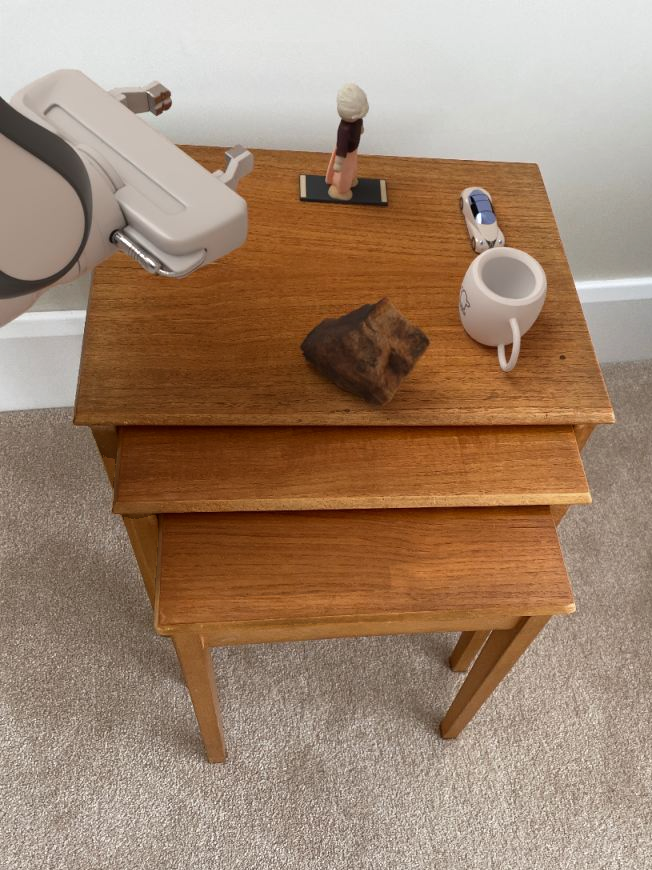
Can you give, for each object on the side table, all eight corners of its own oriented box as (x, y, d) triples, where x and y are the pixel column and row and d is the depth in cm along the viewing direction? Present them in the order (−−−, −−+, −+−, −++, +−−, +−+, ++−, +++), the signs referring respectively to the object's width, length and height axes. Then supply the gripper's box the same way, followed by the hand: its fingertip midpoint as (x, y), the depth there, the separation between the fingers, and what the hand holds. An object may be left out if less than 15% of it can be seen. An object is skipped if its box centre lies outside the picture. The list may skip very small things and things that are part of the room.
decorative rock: (420, 387, 79) (441, 319, 70) (387, 428, 77) (404, 362, 67) (323, 327, 81) (330, 252, 71) (288, 365, 78) (291, 292, 69)
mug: (445, 294, 85) (461, 241, 78) (519, 294, 86) (542, 241, 79) (463, 387, 80) (482, 339, 73) (542, 384, 81) (568, 337, 74)
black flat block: (299, 201, 88) (299, 198, 88) (299, 176, 90) (299, 173, 89) (387, 206, 89) (387, 203, 89) (385, 181, 91) (385, 178, 91)
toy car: (480, 277, 87) (486, 260, 84) (456, 197, 91) (461, 179, 89) (510, 275, 87) (517, 258, 85) (485, 196, 92) (490, 178, 90)
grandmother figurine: (330, 163, 91) (338, 59, 79) (362, 169, 91) (376, 67, 79) (319, 210, 87) (326, 110, 76) (353, 217, 87) (365, 118, 76)
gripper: (163, 256, 54) (301, 163, 59) (-34, 94, 57) (114, 21, 63) (171, 315, 59) (297, 225, 65) (-8, 165, 63) (126, 92, 68)
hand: (206, 124), depth 64 cm, fingers open, 8 cm apart
